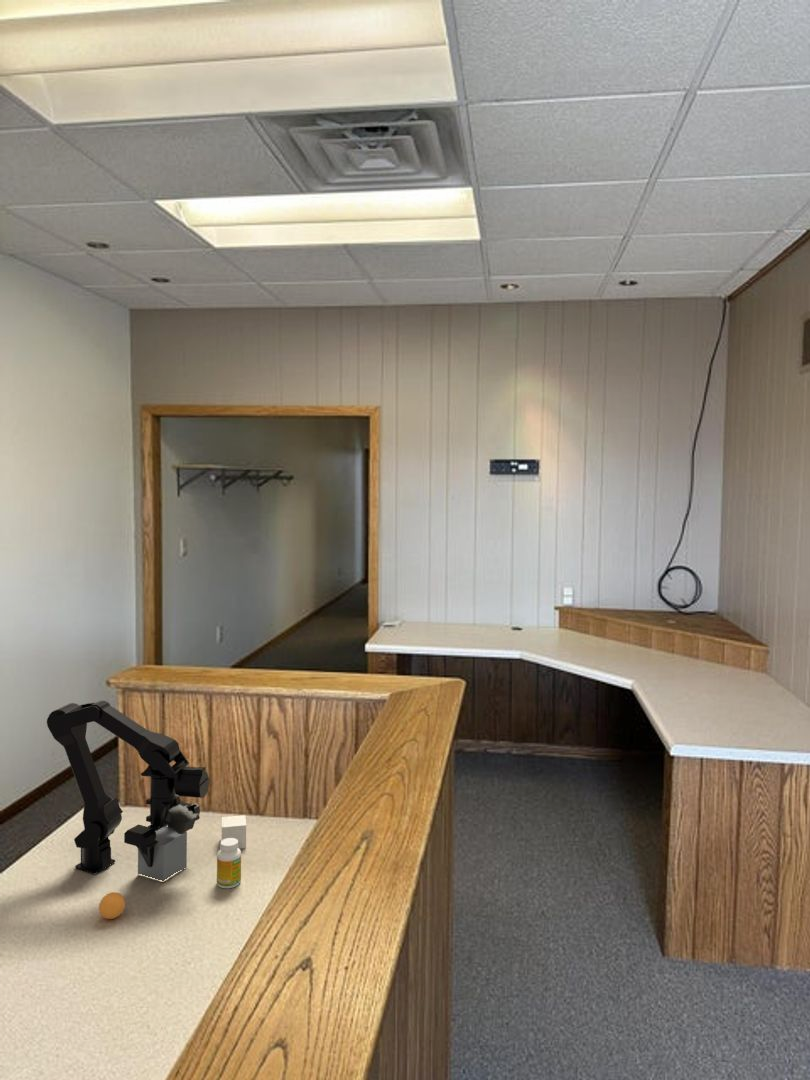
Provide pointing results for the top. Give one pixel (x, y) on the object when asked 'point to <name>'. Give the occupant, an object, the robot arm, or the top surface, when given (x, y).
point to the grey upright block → (166, 855)
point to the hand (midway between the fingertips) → (162, 859)
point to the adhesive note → (234, 829)
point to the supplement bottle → (229, 864)
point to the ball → (111, 905)
